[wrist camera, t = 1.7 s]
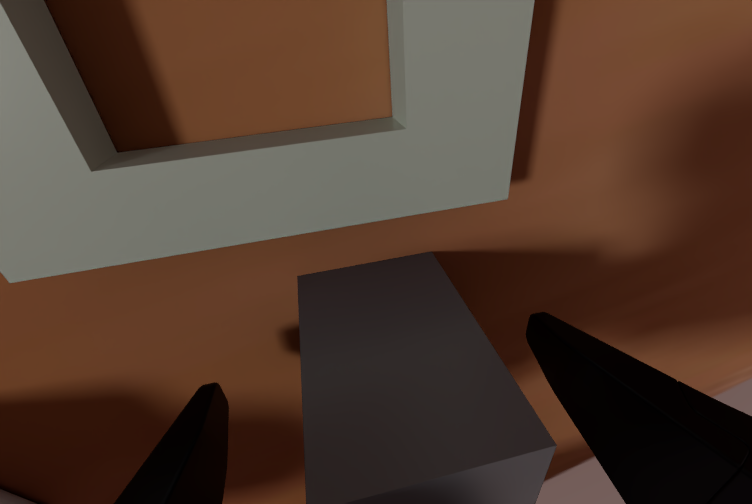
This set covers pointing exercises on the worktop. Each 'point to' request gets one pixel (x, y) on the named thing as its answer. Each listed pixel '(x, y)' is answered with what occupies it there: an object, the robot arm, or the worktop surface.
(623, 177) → the worktop surface
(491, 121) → the plate
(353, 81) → the worktop surface
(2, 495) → the medicine bottle
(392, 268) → the block
